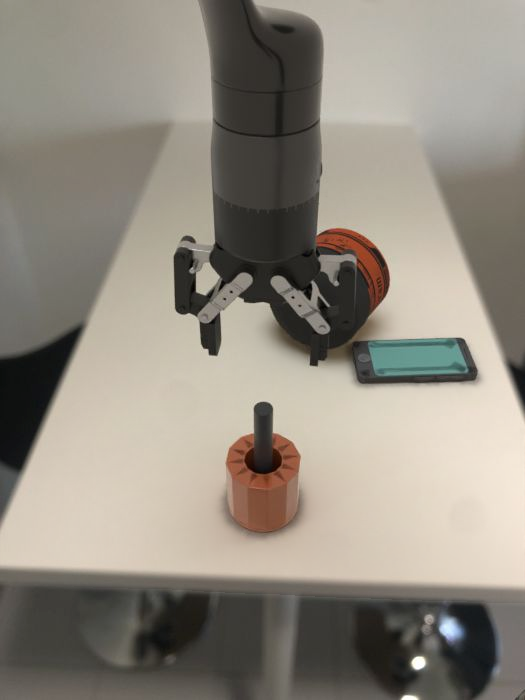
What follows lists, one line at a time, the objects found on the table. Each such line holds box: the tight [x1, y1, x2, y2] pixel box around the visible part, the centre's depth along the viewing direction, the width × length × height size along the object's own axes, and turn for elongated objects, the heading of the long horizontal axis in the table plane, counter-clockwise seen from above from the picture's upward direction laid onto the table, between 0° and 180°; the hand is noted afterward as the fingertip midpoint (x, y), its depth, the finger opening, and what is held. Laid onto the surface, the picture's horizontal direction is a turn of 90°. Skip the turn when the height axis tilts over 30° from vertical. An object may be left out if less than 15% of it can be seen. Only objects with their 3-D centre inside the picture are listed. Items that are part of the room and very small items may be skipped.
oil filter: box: [269, 227, 391, 350], centre depth 88 cm, size 13×12×13 cm
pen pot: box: [225, 432, 302, 533], centre depth 69 cm, size 7×7×7 cm
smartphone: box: [351, 337, 479, 384], centre depth 87 cm, size 7×1×15 cm
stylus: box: [253, 401, 274, 474], centre depth 66 cm, size 2×2×14 cm
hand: (264, 354), depth 58 cm, fingers open, 8 cm apart
